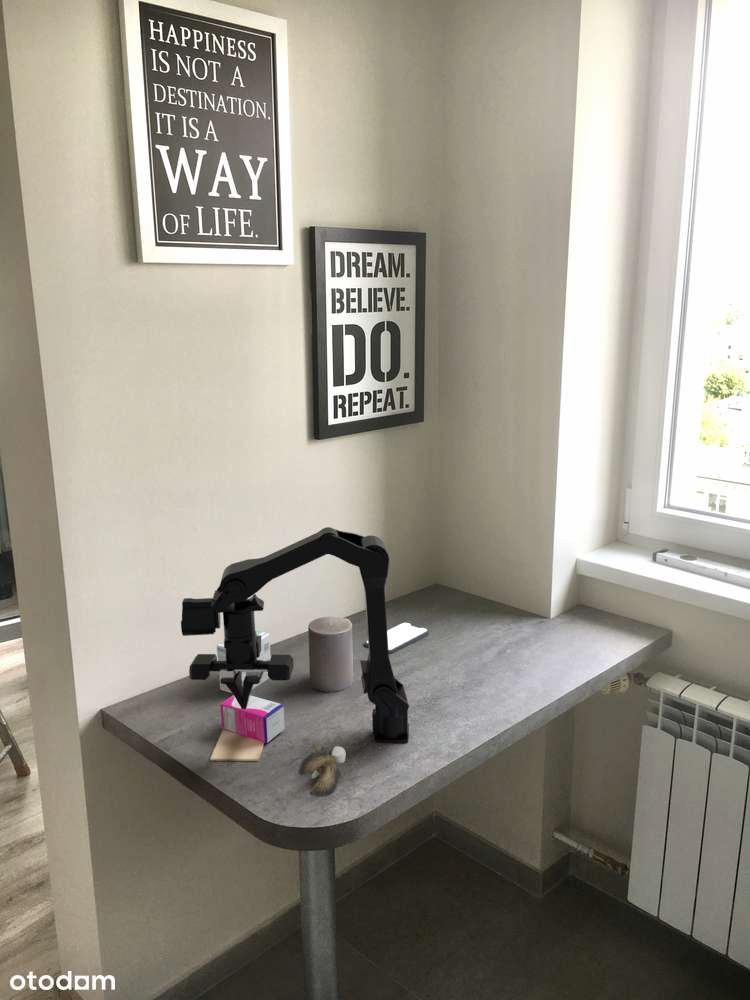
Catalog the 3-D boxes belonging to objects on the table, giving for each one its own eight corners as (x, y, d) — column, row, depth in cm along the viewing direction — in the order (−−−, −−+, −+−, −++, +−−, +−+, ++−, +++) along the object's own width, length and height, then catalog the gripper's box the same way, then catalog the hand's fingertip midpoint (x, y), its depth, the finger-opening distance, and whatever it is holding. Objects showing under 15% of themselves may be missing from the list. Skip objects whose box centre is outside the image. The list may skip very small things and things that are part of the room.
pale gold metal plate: (271, 722, 169) (271, 720, 168) (258, 761, 155) (258, 759, 155) (227, 722, 169) (226, 720, 169) (210, 760, 155) (210, 758, 155)
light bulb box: (249, 671, 192) (247, 627, 189) (273, 677, 188) (270, 632, 186) (218, 690, 183) (215, 644, 180) (242, 697, 179) (239, 650, 177)
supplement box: (285, 731, 165) (239, 715, 170) (284, 704, 163) (238, 689, 169) (267, 745, 160) (220, 729, 166) (265, 717, 158) (219, 702, 164)
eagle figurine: (300, 760, 153) (288, 779, 144) (321, 729, 152) (310, 747, 143) (334, 784, 152) (324, 806, 143) (355, 754, 151) (346, 773, 142)
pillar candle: (300, 682, 185) (298, 620, 181) (332, 667, 192) (330, 606, 188) (331, 697, 179) (329, 632, 175) (362, 681, 186) (361, 618, 182)
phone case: (389, 658, 198) (431, 635, 210) (389, 651, 198) (431, 629, 209) (362, 648, 204) (404, 626, 215) (361, 642, 204) (404, 621, 215)
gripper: (295, 615, 162) (299, 688, 166) (201, 615, 163) (206, 687, 167) (287, 638, 152) (290, 716, 156) (185, 638, 153) (191, 715, 157)
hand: (244, 708), depth 159 cm, fingers closed
